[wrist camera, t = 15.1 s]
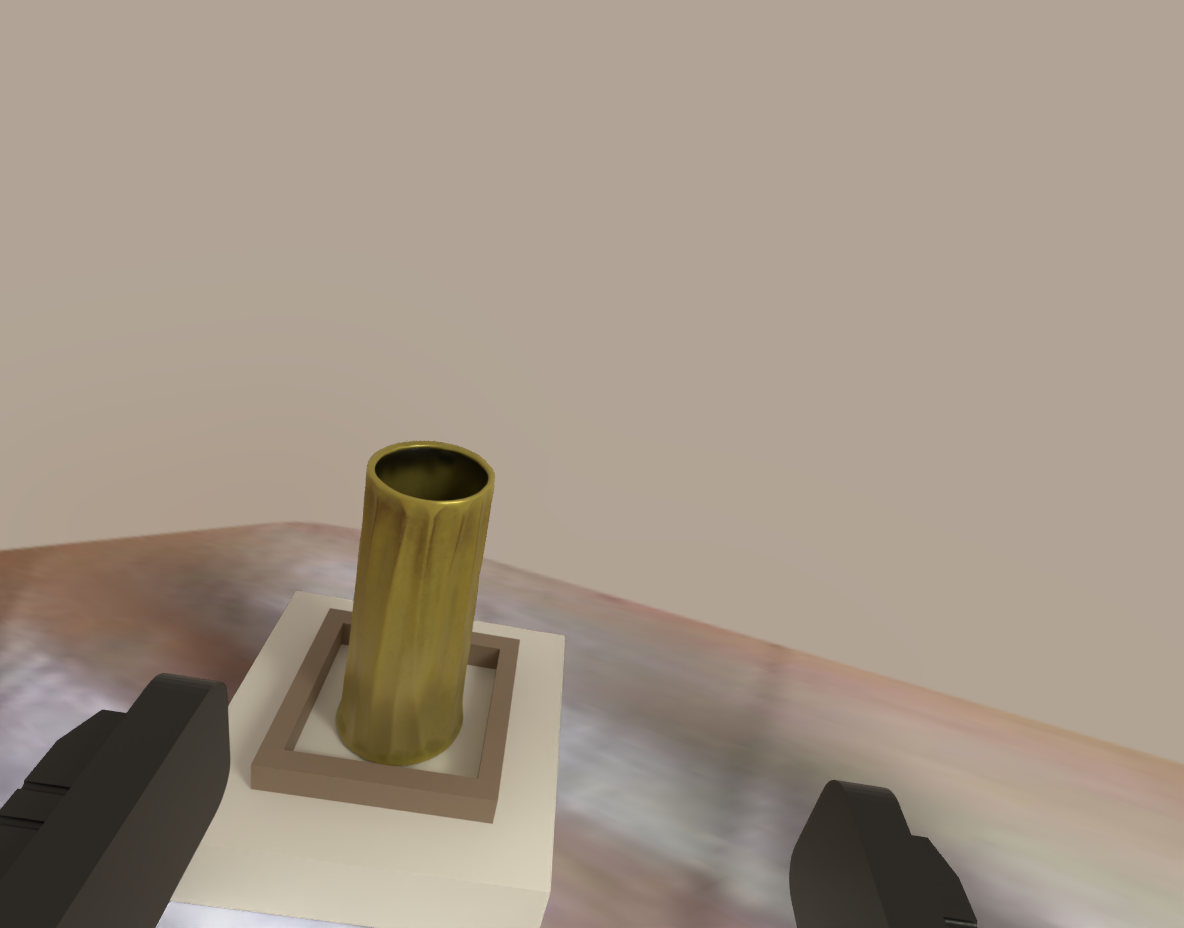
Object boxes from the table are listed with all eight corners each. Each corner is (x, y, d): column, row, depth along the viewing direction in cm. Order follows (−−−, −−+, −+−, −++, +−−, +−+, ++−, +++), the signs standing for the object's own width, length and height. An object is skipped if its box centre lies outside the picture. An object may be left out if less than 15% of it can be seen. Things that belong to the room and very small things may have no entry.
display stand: (553, 684, 47) (570, 616, 45) (533, 948, 33) (557, 869, 30) (294, 642, 46) (296, 569, 43) (156, 899, 31) (148, 812, 29)
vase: (470, 682, 40) (512, 449, 34) (452, 777, 35) (499, 521, 28) (355, 665, 40) (375, 424, 33) (319, 759, 34) (335, 493, 28)
